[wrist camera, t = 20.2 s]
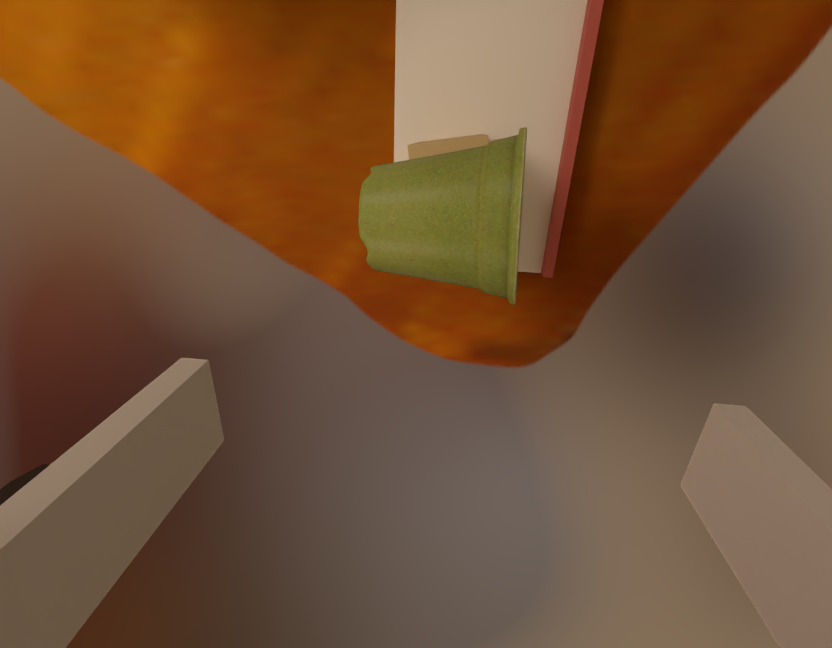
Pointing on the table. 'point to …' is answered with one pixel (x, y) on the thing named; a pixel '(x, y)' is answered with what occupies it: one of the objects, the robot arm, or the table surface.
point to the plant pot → (449, 216)
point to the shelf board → (501, 92)
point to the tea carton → (446, 145)
